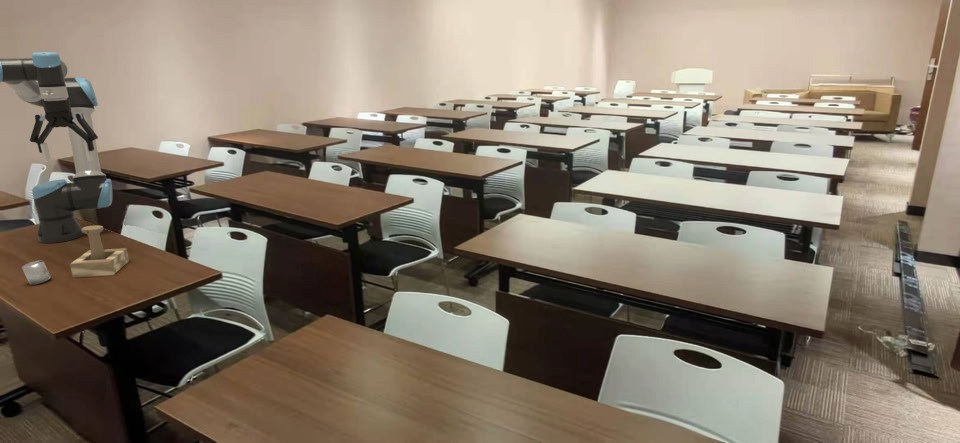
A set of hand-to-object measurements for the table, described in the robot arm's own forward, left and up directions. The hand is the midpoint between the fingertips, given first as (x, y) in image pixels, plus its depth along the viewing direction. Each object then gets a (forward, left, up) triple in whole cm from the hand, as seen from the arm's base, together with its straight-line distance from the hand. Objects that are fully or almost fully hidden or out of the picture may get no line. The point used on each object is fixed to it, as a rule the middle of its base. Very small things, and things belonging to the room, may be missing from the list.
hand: (69, 161), depth 199 cm
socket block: (+12, +9, -37) cm, 40 cm away
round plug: (+20, -7, -36) cm, 42 cm away
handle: (+12, +8, -36) cm, 39 cm away
